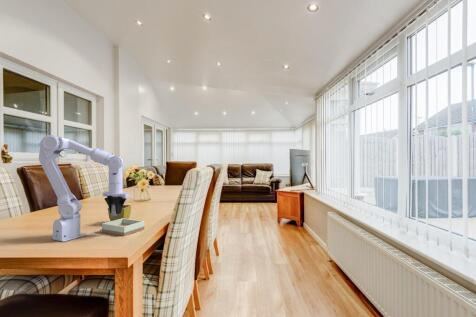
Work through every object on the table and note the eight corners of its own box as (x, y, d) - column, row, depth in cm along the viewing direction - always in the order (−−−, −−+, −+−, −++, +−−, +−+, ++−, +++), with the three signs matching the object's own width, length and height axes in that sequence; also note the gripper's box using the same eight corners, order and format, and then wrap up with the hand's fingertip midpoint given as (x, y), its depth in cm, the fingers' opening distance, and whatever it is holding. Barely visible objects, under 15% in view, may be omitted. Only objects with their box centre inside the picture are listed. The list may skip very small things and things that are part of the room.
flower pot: (124, 225, 132) (124, 208, 132) (107, 225, 132) (107, 207, 132) (131, 221, 141) (131, 204, 141) (115, 221, 141) (115, 204, 141)
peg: (115, 218, 115) (115, 204, 115) (109, 217, 117) (109, 204, 117) (120, 216, 118) (120, 203, 118) (115, 216, 120) (115, 203, 119)
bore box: (124, 236, 115) (124, 227, 115) (101, 232, 121) (102, 223, 120) (144, 229, 126) (144, 221, 126) (122, 226, 131) (123, 218, 131)
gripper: (134, 182, 118) (134, 213, 118) (111, 181, 124) (111, 210, 124) (121, 184, 112) (121, 216, 112) (98, 182, 118) (98, 213, 118)
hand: (115, 213), depth 118 cm, fingers closed on peg, 3 cm apart
